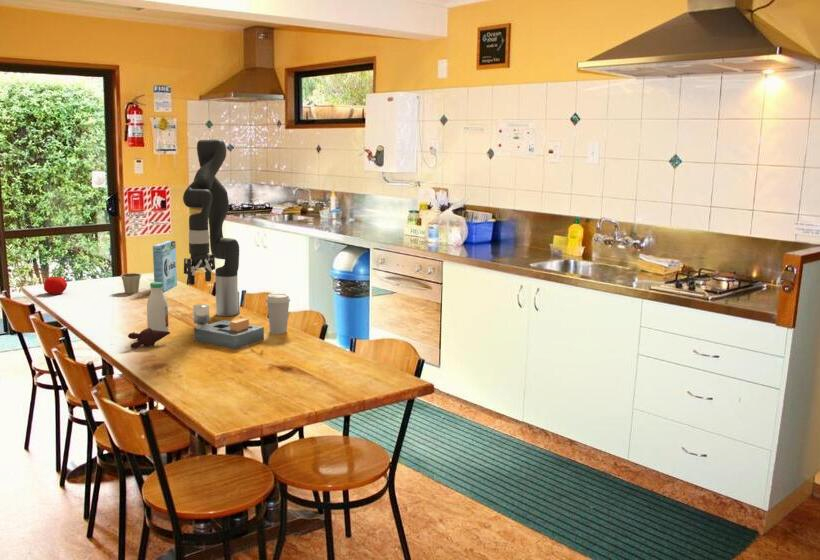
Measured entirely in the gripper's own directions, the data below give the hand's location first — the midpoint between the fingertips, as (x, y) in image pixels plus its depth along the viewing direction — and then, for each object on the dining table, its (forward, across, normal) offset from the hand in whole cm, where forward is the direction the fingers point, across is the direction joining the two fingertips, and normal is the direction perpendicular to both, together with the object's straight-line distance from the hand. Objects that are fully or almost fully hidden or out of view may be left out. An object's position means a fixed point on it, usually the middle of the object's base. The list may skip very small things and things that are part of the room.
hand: (200, 283), depth 289 cm
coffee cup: (+20, -18, +23) cm, 36 cm away
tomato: (+20, -15, -108) cm, 111 cm away
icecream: (+20, +23, -3) cm, 31 cm away
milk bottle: (+20, +9, -14) cm, 26 cm away
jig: (+20, +2, +16) cm, 26 cm away
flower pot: (+20, -38, -82) cm, 93 cm away
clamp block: (+15, +2, +21) cm, 26 cm away
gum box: (+20, -54, -76) cm, 96 cm away
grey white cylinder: (+20, 0, 0) cm, 20 cm away
